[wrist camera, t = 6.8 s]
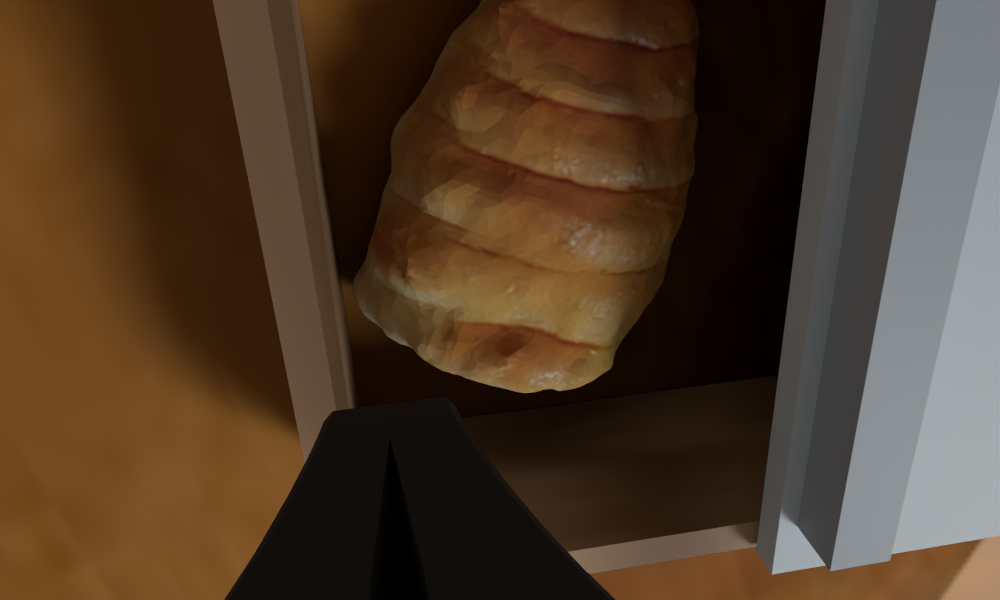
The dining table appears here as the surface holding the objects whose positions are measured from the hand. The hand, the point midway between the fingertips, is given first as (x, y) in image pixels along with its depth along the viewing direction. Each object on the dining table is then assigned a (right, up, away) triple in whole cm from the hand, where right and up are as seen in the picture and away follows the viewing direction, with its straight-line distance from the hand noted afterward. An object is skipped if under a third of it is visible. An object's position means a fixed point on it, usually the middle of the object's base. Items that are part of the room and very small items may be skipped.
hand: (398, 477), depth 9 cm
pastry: (+1, +5, +9) cm, 11 cm away
